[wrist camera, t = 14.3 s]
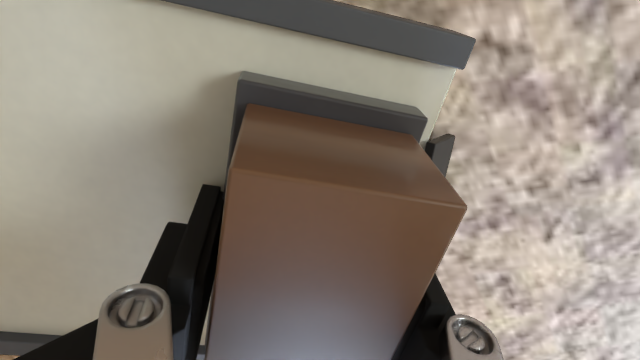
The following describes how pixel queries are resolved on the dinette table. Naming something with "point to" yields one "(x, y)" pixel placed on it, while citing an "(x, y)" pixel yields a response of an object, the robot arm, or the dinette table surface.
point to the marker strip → (440, 151)
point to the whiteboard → (158, 126)
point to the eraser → (324, 225)
